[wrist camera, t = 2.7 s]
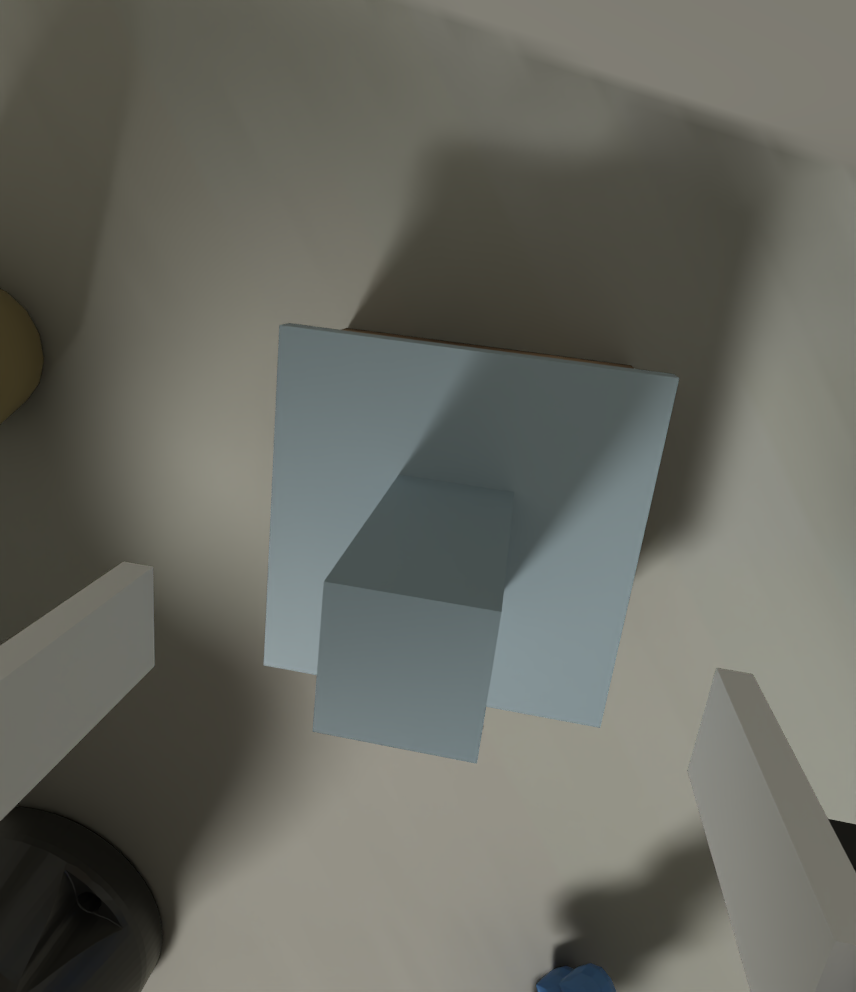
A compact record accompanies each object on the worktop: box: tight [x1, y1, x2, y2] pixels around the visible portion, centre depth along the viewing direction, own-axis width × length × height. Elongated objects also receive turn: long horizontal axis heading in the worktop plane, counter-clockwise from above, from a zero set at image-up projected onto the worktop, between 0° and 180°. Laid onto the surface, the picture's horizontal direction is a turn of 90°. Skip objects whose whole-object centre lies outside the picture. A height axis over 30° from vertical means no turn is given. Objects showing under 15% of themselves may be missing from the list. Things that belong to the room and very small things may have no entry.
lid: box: [264, 323, 679, 763], centre depth 21 cm, size 13×13×10 cm
